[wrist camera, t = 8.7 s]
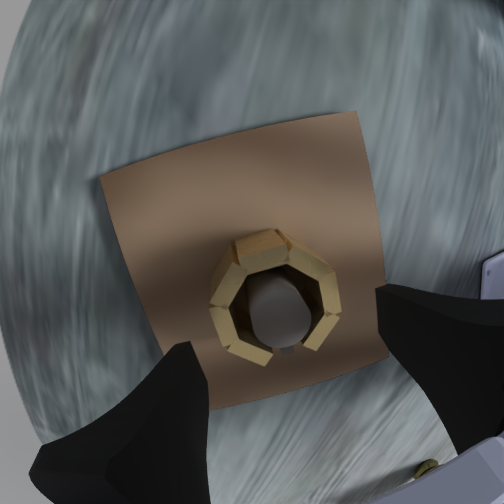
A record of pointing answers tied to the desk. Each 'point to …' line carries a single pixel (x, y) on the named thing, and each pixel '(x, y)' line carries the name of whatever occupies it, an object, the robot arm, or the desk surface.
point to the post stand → (249, 222)
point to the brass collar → (258, 259)
